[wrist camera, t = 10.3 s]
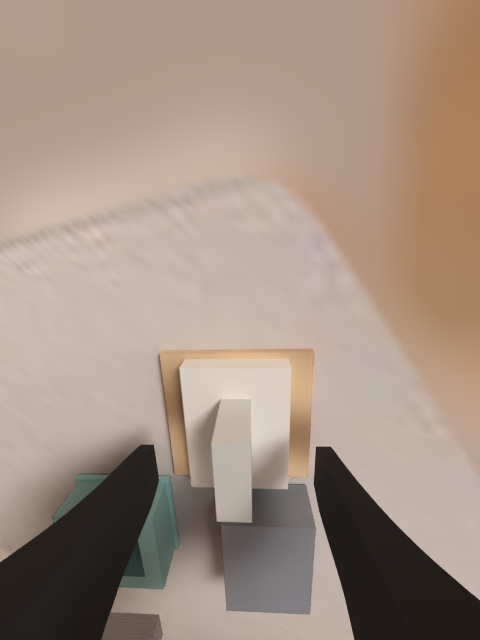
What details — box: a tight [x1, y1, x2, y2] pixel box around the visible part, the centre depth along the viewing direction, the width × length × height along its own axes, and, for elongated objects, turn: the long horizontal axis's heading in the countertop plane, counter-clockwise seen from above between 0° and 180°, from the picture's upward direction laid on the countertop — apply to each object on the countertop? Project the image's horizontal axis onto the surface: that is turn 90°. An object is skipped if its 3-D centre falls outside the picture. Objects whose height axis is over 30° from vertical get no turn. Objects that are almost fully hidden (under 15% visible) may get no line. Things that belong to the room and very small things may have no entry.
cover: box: [179, 359, 292, 523], centre depth 12 cm, size 7×5×4 cm
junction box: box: [220, 484, 316, 615], centre depth 15 cm, size 7×5×2 cm
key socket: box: [52, 474, 179, 589], centre depth 15 cm, size 6×6×2 cm
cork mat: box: [159, 349, 314, 478], centre depth 14 cm, size 8×8×1 cm
